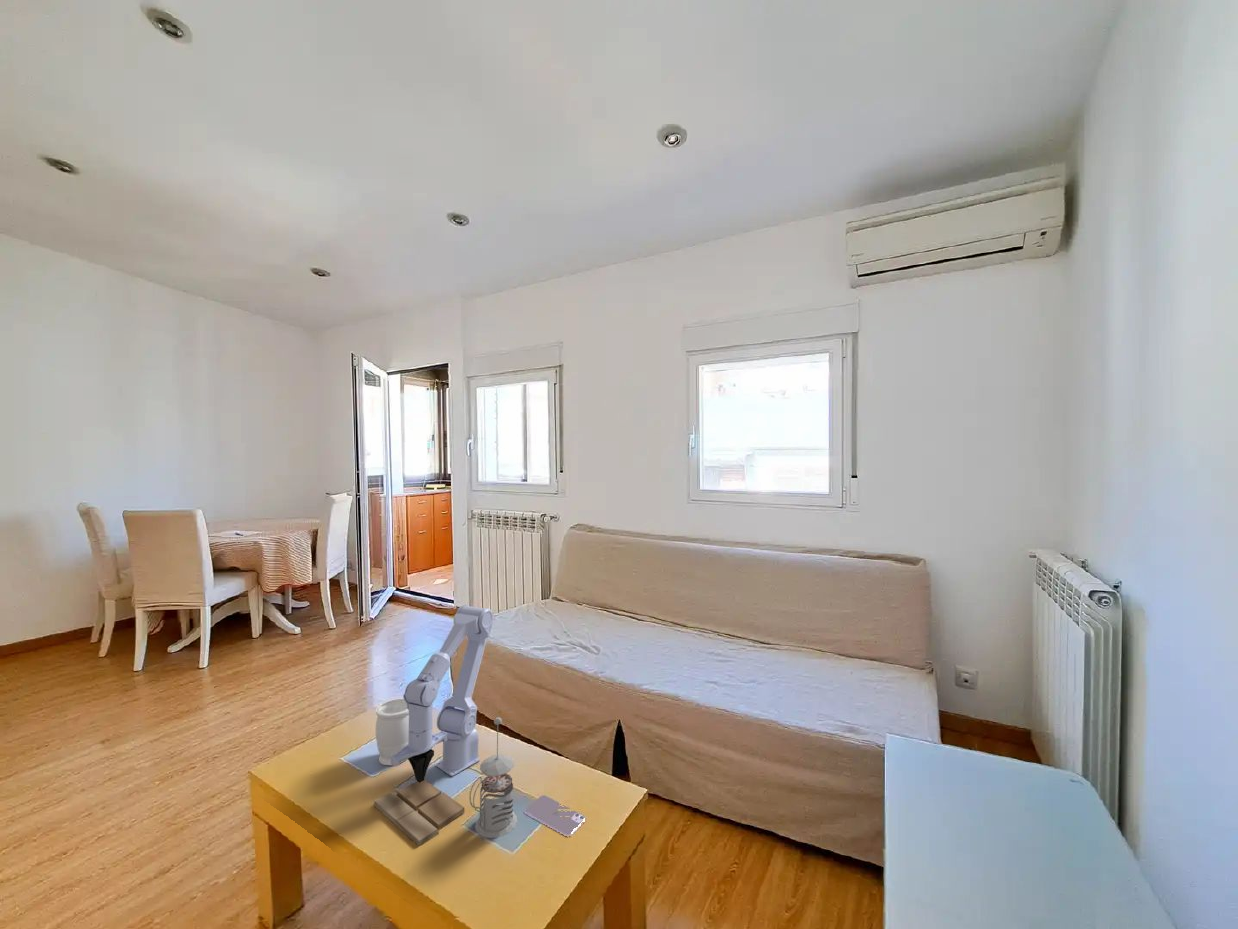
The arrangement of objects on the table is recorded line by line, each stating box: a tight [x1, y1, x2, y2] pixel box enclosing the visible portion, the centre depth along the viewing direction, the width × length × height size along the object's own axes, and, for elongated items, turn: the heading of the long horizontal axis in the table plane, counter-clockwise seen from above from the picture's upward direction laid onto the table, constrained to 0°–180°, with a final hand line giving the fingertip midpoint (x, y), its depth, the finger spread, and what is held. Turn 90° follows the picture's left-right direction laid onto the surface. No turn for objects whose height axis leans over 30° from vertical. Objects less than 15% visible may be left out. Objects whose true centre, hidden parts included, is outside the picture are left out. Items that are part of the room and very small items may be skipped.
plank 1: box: [396, 778, 442, 812], centre depth 124 cm, size 7×9×1 cm
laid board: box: [373, 791, 440, 847], centre depth 116 cm, size 5×21×1 cm, turn 53°
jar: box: [375, 697, 409, 766], centre depth 140 cm, size 11×10×15 cm
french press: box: [468, 716, 518, 839], centre depth 115 cm, size 10×12×25 cm
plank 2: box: [417, 792, 465, 831], centre depth 118 cm, size 7×9×1 cm
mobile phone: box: [523, 794, 587, 836], centre depth 118 cm, size 8×1×15 cm
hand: (419, 780), depth 124 cm, fingers closed
